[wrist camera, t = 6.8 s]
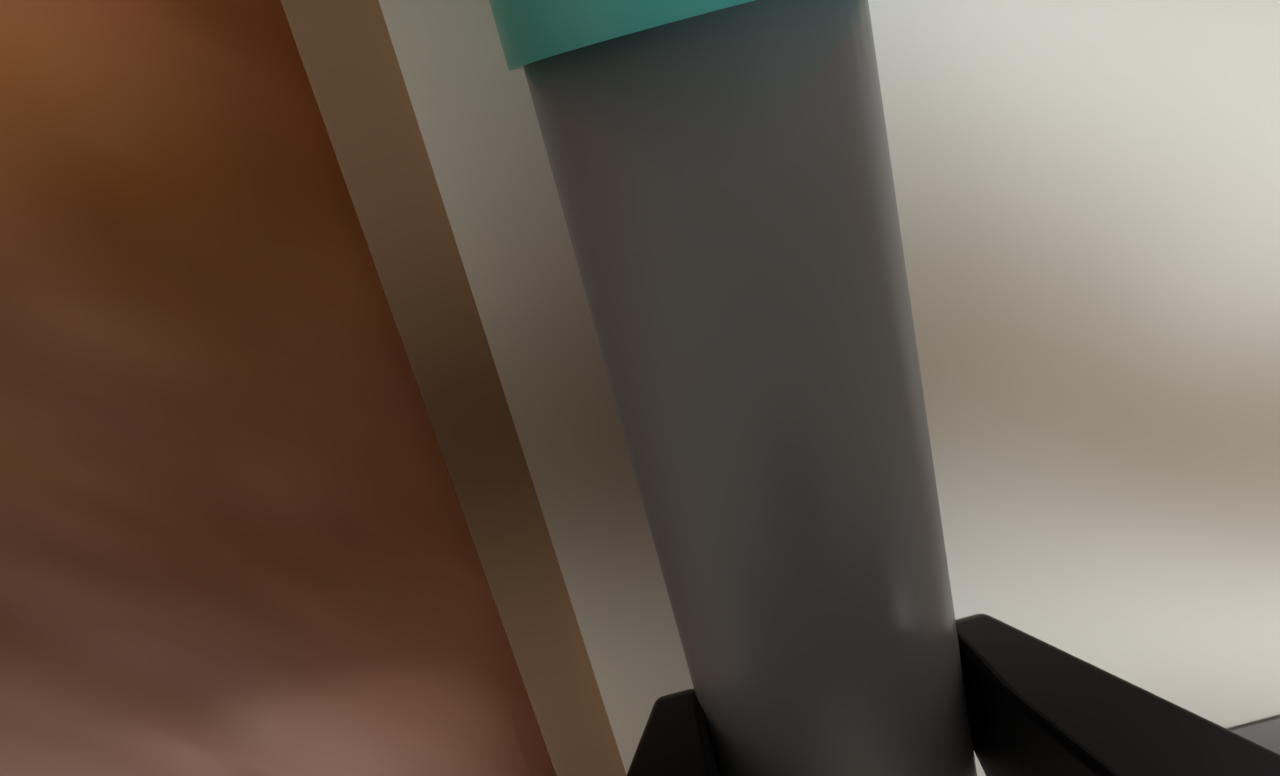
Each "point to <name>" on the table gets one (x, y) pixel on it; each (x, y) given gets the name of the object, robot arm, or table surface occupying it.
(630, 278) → the marker
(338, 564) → the table surface
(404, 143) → the clipboard
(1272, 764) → the robot arm
